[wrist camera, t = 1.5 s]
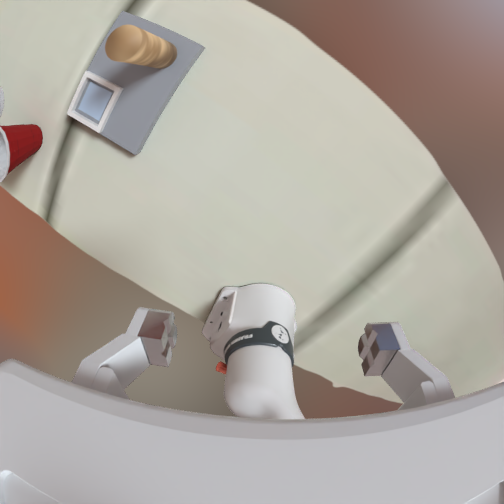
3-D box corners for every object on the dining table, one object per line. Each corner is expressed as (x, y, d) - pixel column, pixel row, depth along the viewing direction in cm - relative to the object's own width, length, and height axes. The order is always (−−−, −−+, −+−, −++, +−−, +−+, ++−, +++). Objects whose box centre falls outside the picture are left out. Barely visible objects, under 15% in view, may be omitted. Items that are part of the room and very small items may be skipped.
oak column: (166, 73, 33) (126, 67, 22) (143, 61, 32) (98, 53, 21) (183, 48, 31) (149, 31, 20) (159, 37, 30) (119, 19, 19)
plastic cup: (18, 113, 36) (-23, 126, 26) (51, 110, 37) (7, 122, 26) (19, 162, 41) (-19, 182, 31) (50, 164, 42) (11, 185, 32)
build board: (140, 152, 42) (132, 156, 39) (73, 113, 37) (64, 115, 35) (205, 47, 33) (200, 44, 30) (127, 13, 28) (119, 9, 26)
